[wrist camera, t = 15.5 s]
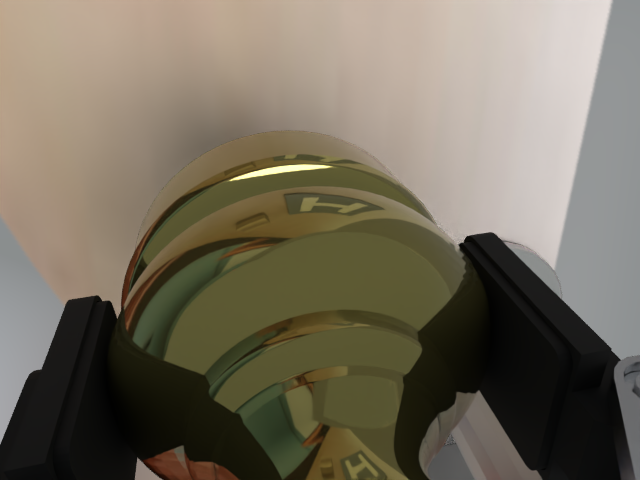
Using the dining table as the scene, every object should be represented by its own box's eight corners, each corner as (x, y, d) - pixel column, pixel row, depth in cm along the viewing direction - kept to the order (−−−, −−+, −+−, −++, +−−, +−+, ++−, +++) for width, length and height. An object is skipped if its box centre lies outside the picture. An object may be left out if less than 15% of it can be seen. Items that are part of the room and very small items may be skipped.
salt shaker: (467, 183, 13) (940, 604, 5) (344, 389, 16) (504, 884, 8) (187, 71, 11) (132, 571, 2) (99, 341, 13) (-79, 1023, 5)
